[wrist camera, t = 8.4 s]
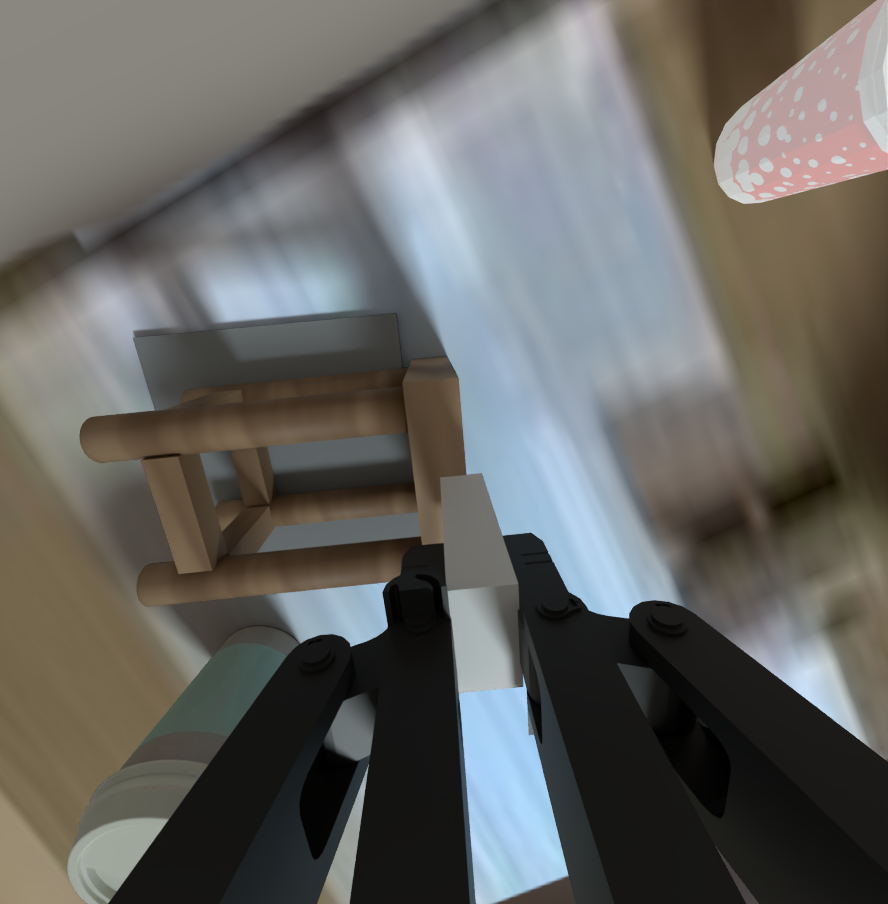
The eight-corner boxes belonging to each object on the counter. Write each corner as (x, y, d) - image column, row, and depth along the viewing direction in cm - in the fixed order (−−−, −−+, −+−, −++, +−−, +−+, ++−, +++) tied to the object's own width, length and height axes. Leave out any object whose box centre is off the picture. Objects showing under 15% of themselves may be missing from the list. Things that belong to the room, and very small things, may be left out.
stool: (458, 377, 15) (62, 416, 15) (475, 592, 18) (142, 626, 17) (447, 356, 23) (196, 380, 23) (460, 502, 26) (236, 525, 26)
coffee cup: (180, 623, 28) (11, 831, 17) (303, 596, 28) (216, 790, 16) (228, 717, 31) (110, 953, 19) (341, 693, 30) (289, 918, 19)
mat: (396, 313, 23) (395, 313, 22) (423, 542, 27) (423, 544, 27) (136, 337, 23) (132, 337, 22) (205, 563, 27) (202, 566, 26)
